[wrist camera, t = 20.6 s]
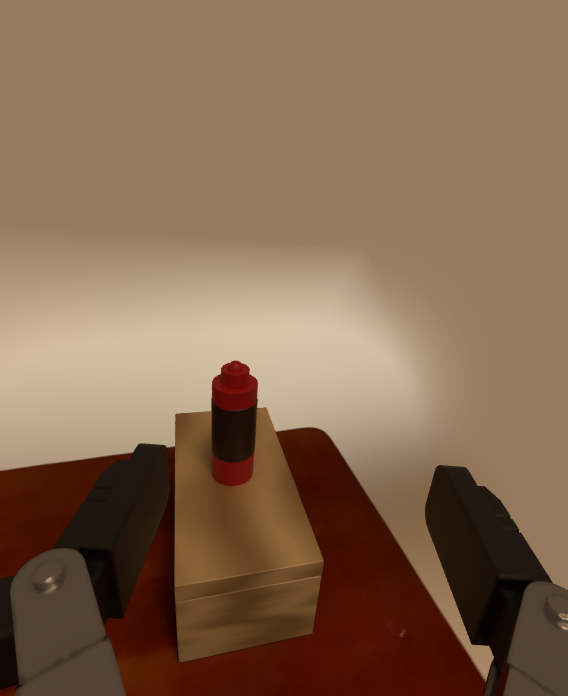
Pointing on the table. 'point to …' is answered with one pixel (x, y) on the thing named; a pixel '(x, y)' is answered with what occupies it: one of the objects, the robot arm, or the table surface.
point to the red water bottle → (233, 424)
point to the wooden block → (239, 547)
